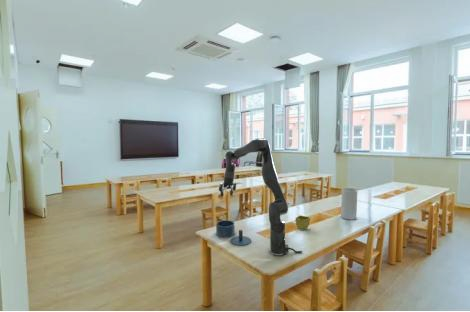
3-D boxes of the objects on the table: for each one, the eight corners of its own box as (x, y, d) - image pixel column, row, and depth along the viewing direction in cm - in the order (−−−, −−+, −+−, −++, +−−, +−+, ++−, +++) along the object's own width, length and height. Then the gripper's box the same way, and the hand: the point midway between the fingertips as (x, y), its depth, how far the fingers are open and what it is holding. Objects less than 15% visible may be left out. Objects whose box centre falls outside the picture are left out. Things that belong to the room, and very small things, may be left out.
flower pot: (299, 225, 203) (300, 215, 203) (310, 228, 198) (310, 217, 197) (295, 229, 197) (295, 217, 196) (305, 231, 191) (305, 220, 190)
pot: (235, 231, 193) (235, 220, 192) (232, 238, 180) (232, 227, 179) (218, 230, 195) (218, 219, 194) (214, 237, 182) (214, 226, 181)
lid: (252, 238, 181) (252, 227, 180) (250, 247, 167) (250, 235, 166) (232, 237, 183) (232, 226, 182) (228, 245, 169) (228, 234, 168)
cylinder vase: (359, 219, 216) (360, 191, 214) (345, 220, 215) (346, 191, 213) (351, 214, 229) (352, 187, 226) (338, 215, 228) (339, 188, 225)
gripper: (223, 178, 187) (221, 198, 190) (239, 177, 195) (236, 196, 199) (218, 175, 193) (216, 194, 196) (234, 174, 201) (231, 193, 205)
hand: (226, 195), depth 198 cm, fingers open, 8 cm apart
